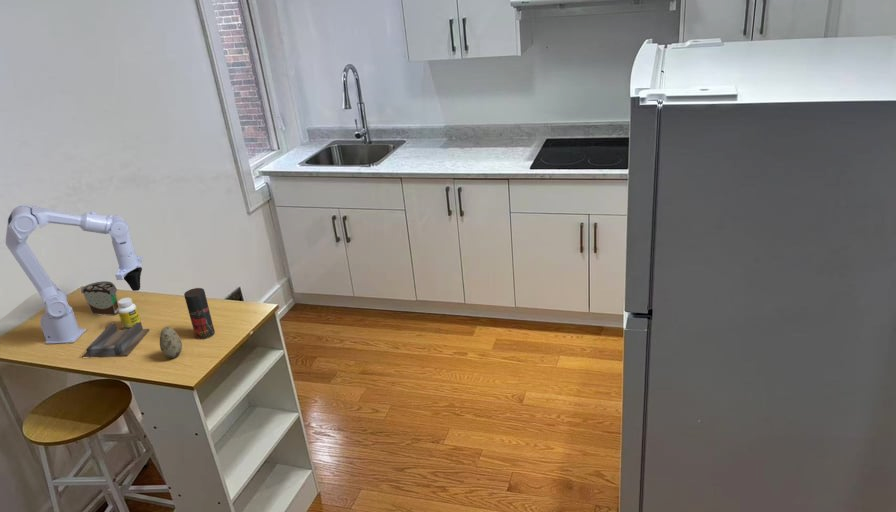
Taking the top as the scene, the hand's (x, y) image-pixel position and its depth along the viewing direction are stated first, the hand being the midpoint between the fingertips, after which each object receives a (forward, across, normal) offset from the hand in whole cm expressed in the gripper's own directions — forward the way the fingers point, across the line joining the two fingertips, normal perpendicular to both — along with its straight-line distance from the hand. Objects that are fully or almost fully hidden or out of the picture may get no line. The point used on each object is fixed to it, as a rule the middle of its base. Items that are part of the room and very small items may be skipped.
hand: (136, 289), depth 220 cm
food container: (+10, +4, +14) cm, 17 cm away
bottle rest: (+9, -18, 0) cm, 21 cm away
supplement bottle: (+10, -8, 0) cm, 12 cm away
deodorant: (+10, -15, -27) cm, 32 cm away
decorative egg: (+10, -27, -22) cm, 36 cm away
